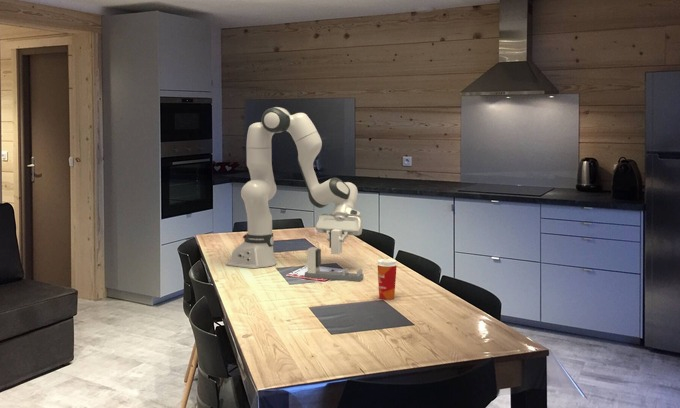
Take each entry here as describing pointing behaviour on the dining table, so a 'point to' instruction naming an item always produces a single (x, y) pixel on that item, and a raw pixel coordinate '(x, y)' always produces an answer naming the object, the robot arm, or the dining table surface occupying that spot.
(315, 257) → the rail
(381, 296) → the paper cup
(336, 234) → the block
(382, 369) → the dining table surface
